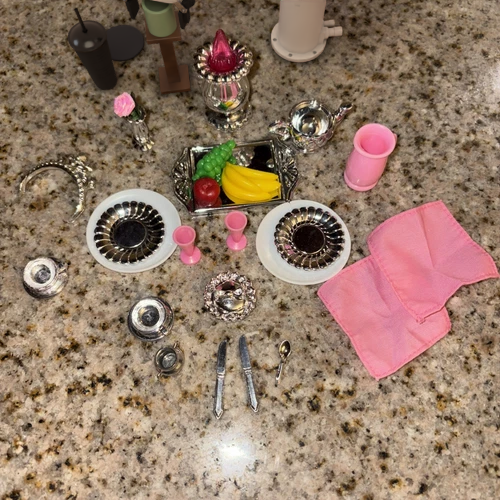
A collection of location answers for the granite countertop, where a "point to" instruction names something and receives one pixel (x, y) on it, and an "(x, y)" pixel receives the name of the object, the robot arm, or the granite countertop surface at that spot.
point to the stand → (170, 62)
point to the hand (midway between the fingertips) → (160, 18)
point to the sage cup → (159, 17)
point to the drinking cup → (93, 51)
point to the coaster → (124, 42)
